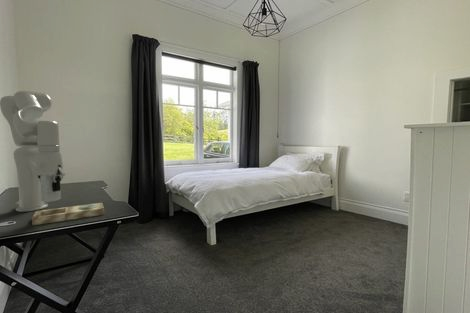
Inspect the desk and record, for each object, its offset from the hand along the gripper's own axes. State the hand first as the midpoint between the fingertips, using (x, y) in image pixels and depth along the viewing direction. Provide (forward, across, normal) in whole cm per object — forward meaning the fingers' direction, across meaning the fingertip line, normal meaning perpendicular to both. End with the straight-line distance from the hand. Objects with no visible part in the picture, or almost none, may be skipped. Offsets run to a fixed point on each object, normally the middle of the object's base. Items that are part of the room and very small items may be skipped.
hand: (51, 190), depth 107 cm
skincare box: (+5, 0, 0) cm, 5 cm away
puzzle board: (+13, +6, +4) cm, 14 cm away
